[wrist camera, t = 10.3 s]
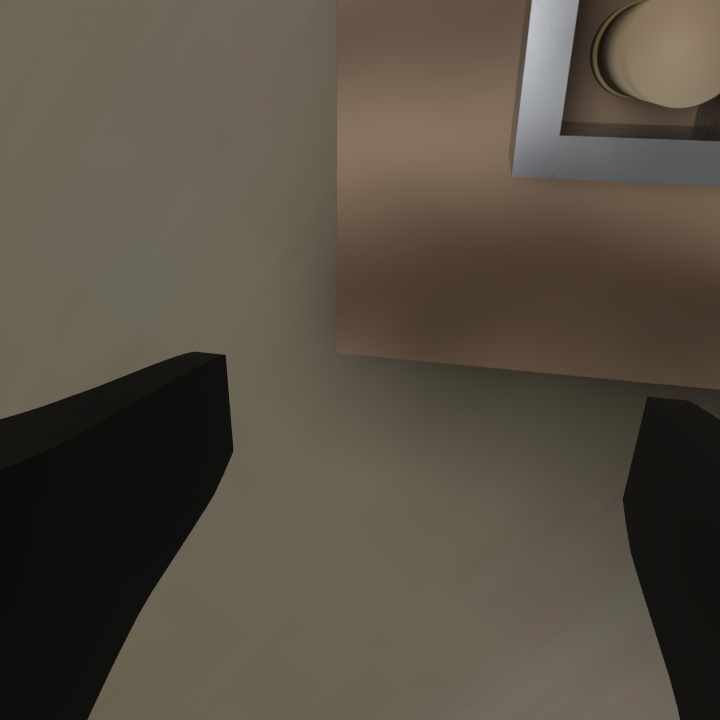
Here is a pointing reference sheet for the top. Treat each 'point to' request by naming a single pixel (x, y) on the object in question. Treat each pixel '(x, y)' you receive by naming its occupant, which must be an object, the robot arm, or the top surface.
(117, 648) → the robot arm
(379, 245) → the board
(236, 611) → the top surface
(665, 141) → the collar
